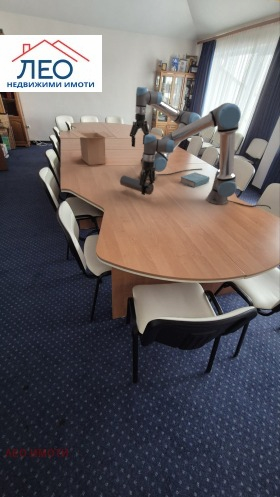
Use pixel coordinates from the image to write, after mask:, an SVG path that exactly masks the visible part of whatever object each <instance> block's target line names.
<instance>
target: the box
mask: <svg viewBox="0 0 280 497" xmlns="http://www.w3.org/2000/svg"><path fill="white" fill-rule="evenodd" d="M70 133H71V134H72V135H74V136H75V137H77V138H79V144H80V153H81V160H83V162H85V163H86V165H87V166H95V165H97V166H98V165H106V163H107V162H106V158H107V157H106V138H113V137H114V136H113V135H111V134H109V133H108V132H105V131H98V132H96V131H95V130H92V129H91V130H77V132H76V131H70Z"/></svg>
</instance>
